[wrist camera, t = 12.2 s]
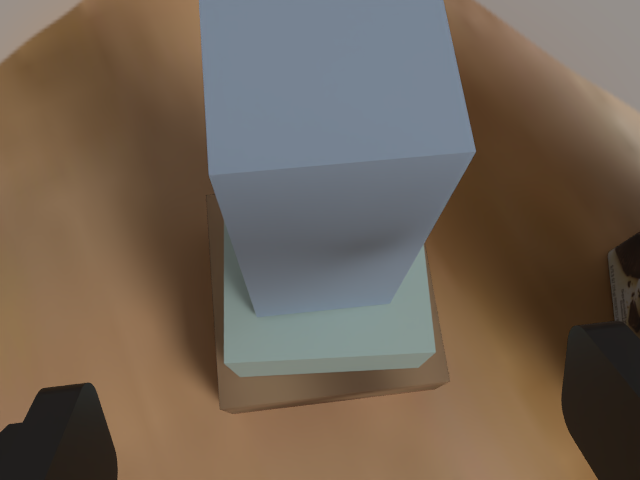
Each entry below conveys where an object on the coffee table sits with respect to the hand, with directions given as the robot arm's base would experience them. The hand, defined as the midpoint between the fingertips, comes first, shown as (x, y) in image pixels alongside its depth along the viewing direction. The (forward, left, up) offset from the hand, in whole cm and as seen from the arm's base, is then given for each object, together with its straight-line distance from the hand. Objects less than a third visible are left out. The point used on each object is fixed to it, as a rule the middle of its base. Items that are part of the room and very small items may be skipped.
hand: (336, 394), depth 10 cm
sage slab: (0, +5, -14) cm, 15 cm away
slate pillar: (0, +6, -10) cm, 11 cm away
